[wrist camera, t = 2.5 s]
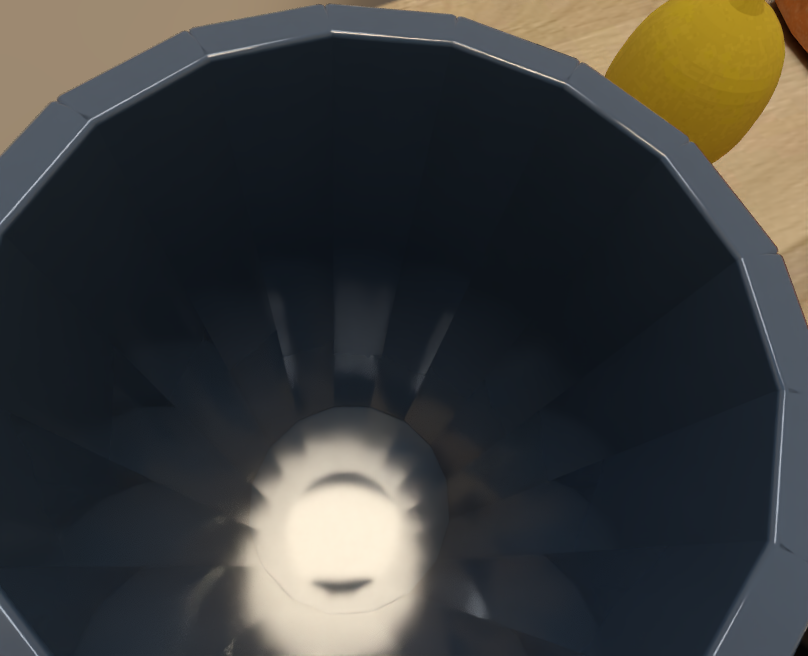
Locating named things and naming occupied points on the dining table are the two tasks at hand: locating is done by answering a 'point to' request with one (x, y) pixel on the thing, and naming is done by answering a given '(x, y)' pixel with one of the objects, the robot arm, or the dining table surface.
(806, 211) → the dining table surface
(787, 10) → the bread
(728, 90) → the lemon
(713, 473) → the tumbler
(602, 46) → the dining table surface
